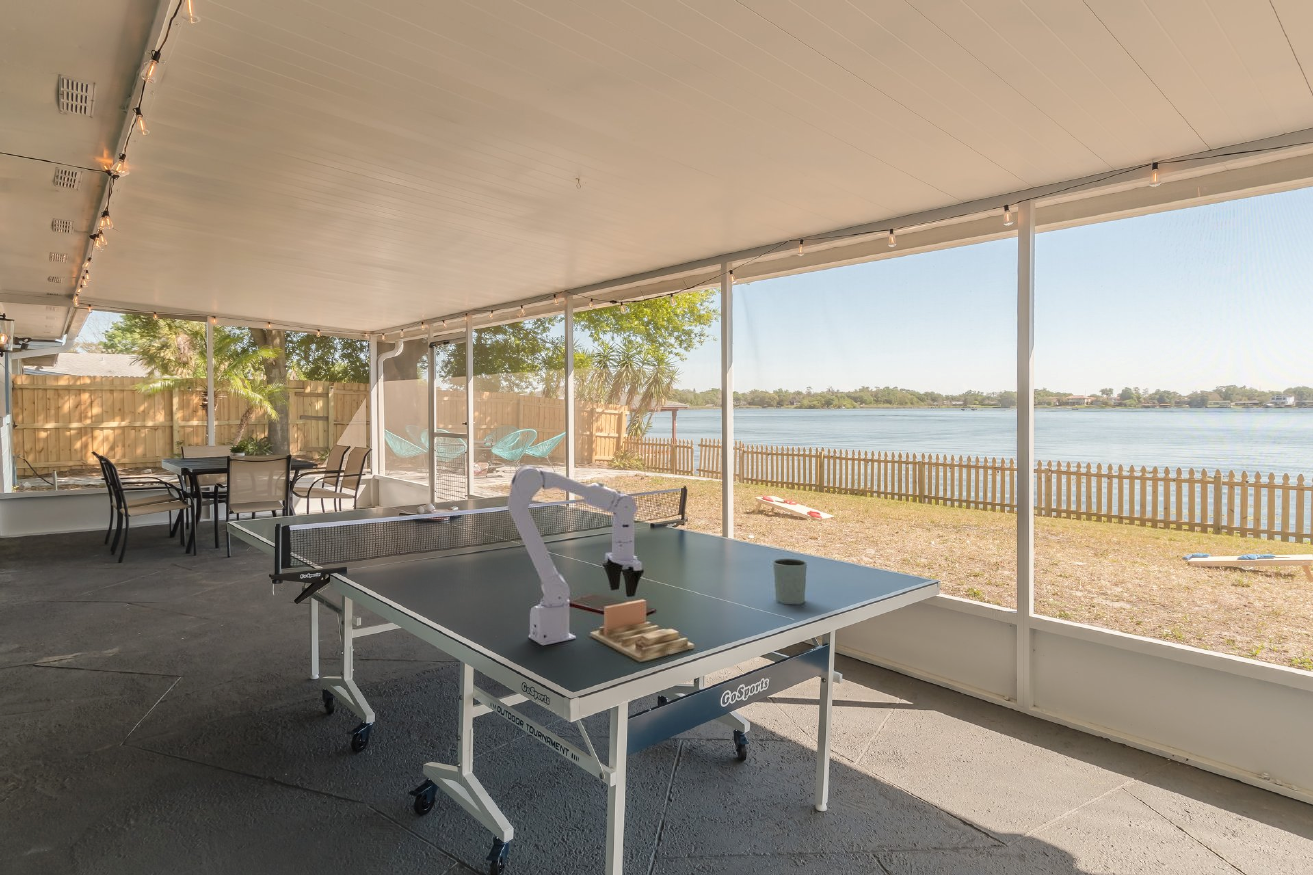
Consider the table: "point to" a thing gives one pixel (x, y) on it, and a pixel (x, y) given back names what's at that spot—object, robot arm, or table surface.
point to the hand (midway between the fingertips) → (622, 592)
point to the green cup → (790, 580)
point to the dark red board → (599, 603)
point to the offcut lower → (641, 645)
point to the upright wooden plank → (624, 614)
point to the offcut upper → (659, 636)
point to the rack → (630, 635)
